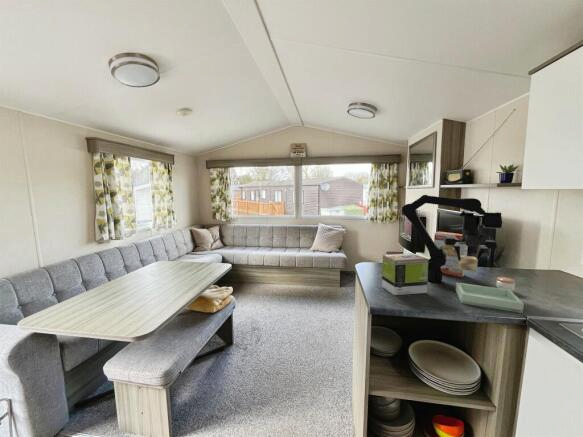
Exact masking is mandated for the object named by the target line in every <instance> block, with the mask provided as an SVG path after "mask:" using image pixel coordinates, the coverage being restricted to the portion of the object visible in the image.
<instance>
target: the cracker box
mask: <svg viewBox="0 0 583 437" xmlns="http://www.w3.org/2000/svg"><path fill="white" fill-rule="evenodd" d="M445 237H453V238H455V239H456V240H462V234H461V233H454V232H445V231H436V232H434V237H433V238H434V239H433V242H434V243H435V245H436V246H437V247H438V248H440V247H442V249H443V251H444V252H445V253H446V264H445V265H443V266H441V271H442V272H443V273H442V274H445V275H448V276H449V275H450V276H452V277H453V276H454V277H458V278H464V276H465V275H466V272H467V270H461V269H460V268H459V267H458V261H459V260H458V257H457V254H456V251H455V248H454V247H452V246H451V245H445V243H444V238H445ZM459 246H460V255H462V256H468V247H469V246H466V245H465V244H459Z"/></svg>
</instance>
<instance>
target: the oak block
mask: <svg viewBox="0 0 583 437" xmlns="http://www.w3.org/2000/svg"><path fill="white" fill-rule="evenodd" d="M478 262H479V261H478V260H477V259H476V256H469V255H467V256H462V255H460V261H458V267H459V268H460V269H461V270H466V271H470V272H477V271H478Z"/></svg>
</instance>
